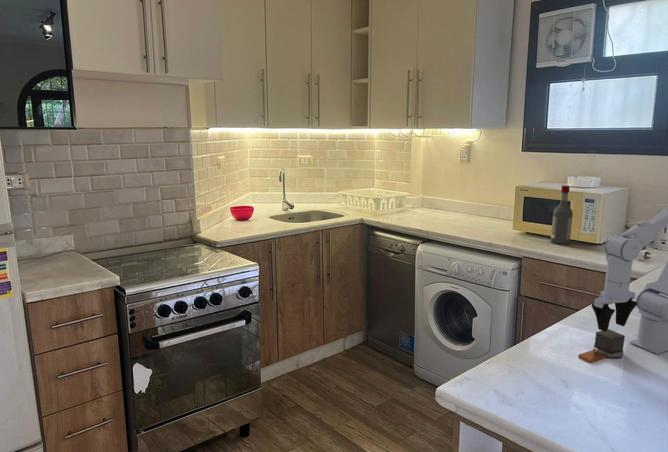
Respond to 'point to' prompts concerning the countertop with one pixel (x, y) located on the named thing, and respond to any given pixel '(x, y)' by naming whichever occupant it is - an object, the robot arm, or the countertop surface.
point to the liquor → (562, 220)
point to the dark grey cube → (609, 341)
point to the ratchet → (598, 355)
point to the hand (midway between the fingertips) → (611, 327)
